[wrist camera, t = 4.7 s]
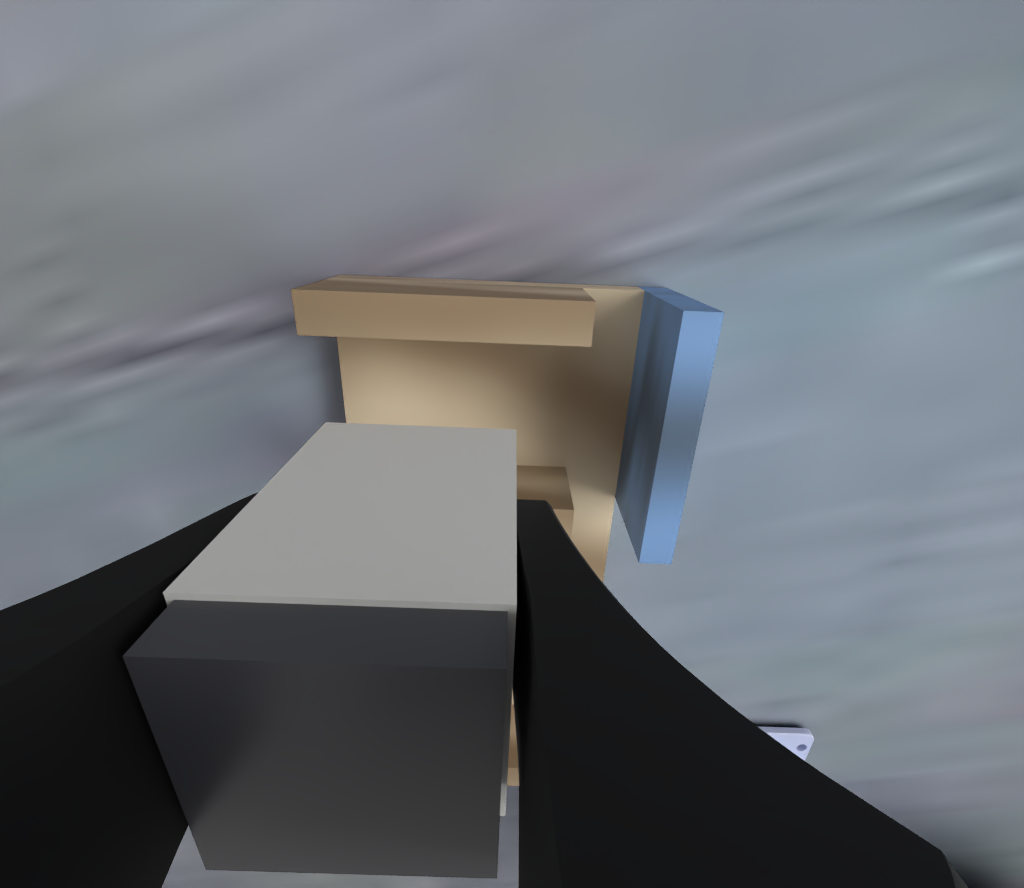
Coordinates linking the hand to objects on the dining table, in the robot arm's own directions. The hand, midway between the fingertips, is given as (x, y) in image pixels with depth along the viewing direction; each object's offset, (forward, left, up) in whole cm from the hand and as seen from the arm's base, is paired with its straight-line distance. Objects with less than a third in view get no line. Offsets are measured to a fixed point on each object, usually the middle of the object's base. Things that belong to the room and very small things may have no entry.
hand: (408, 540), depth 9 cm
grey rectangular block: (0, 0, -2) cm, 2 cm away
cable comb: (-6, -2, -9) cm, 12 cm away
